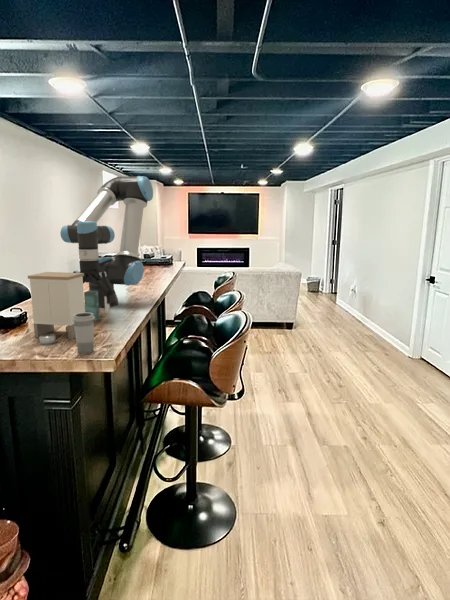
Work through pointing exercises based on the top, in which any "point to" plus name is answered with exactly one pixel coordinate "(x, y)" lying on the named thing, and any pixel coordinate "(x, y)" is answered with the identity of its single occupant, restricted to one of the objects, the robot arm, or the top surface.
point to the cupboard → (56, 300)
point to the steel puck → (47, 339)
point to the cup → (84, 331)
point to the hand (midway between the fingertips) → (92, 310)
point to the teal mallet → (91, 304)
